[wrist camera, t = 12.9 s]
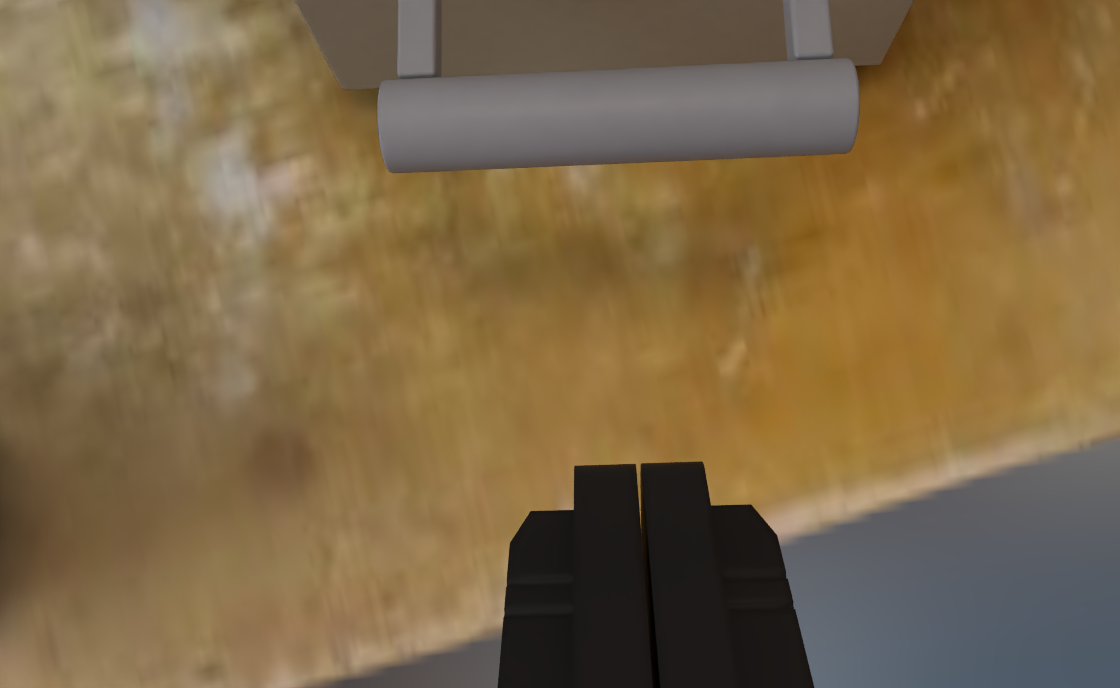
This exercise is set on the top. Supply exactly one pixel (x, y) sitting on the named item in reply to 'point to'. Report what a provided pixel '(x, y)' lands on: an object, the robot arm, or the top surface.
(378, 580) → the top surface
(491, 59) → the drawer
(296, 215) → the top surface
